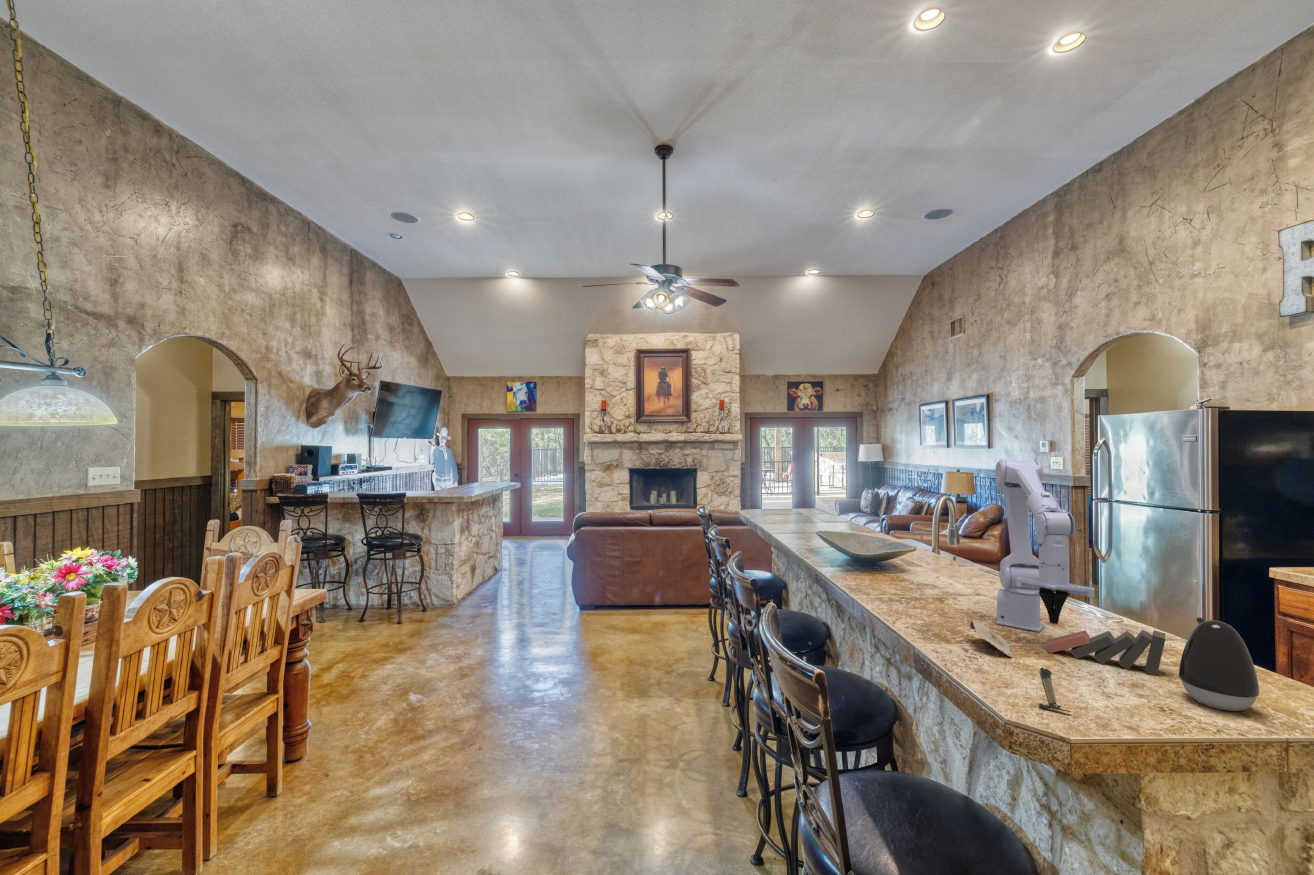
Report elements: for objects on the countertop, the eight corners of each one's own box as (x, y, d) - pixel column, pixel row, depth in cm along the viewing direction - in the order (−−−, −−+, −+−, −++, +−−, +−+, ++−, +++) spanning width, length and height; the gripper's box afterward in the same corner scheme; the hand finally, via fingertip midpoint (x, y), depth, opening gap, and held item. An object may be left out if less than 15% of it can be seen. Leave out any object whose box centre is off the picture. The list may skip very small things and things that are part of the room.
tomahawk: (1086, 726, 92) (1087, 719, 92) (1038, 711, 95) (1039, 705, 95) (1076, 681, 109) (1076, 676, 109) (1036, 670, 113) (1036, 665, 113)
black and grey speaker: (1234, 696, 102) (1233, 615, 102) (1275, 722, 92) (1274, 632, 92) (1166, 688, 105) (1165, 609, 105) (1199, 712, 95) (1198, 625, 96)
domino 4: (1145, 672, 112) (1153, 635, 111) (1145, 665, 116) (1153, 629, 115) (1156, 676, 111) (1165, 639, 110) (1156, 669, 115) (1165, 633, 114)
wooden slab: (1019, 669, 124) (975, 631, 134) (1029, 657, 123) (984, 620, 133) (994, 666, 119) (950, 627, 128) (1004, 654, 118) (959, 615, 127)
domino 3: (1118, 663, 115) (1142, 634, 113) (1119, 657, 119) (1142, 629, 116) (1128, 669, 114) (1152, 640, 112) (1129, 663, 118) (1152, 635, 115)
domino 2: (1093, 656, 118) (1126, 636, 114) (1095, 650, 122) (1127, 630, 118) (1101, 664, 117) (1134, 643, 113) (1102, 657, 121) (1135, 637, 117)
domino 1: (1070, 651, 121) (1107, 636, 116) (1072, 645, 124) (1108, 630, 120) (1076, 658, 120) (1113, 644, 116) (1078, 652, 123) (1115, 638, 119)
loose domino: (1052, 647, 127) (1090, 638, 122) (1049, 653, 123) (1088, 643, 118) (1047, 639, 127) (1085, 630, 123) (1044, 645, 124) (1083, 635, 119)
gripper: (1013, 561, 127) (1013, 619, 127) (1092, 571, 117) (1092, 634, 117) (1019, 557, 132) (1019, 613, 132) (1095, 566, 122) (1095, 627, 122)
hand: (1054, 622), depth 125 cm, fingers closed
